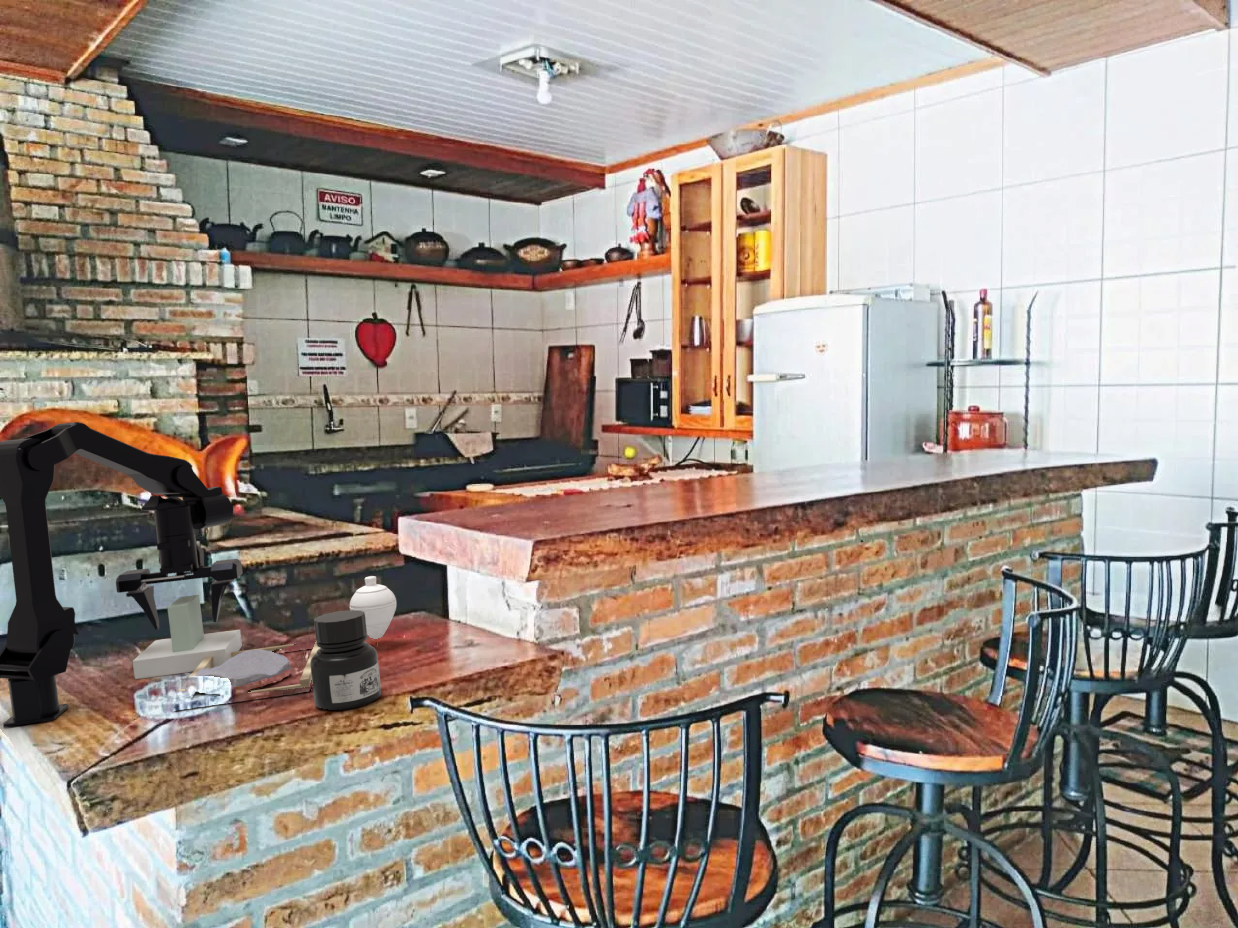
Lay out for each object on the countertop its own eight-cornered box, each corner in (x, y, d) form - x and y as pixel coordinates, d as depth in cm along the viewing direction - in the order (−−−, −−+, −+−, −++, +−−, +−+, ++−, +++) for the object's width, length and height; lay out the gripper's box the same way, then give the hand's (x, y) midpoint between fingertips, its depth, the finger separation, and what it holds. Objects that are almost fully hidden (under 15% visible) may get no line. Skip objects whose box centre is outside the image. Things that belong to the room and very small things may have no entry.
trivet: (227, 666, 154) (225, 648, 154) (134, 679, 151) (132, 661, 151) (242, 645, 168) (240, 629, 168) (157, 657, 165) (155, 640, 165)
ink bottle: (343, 716, 124) (333, 626, 123) (298, 709, 129) (289, 622, 128) (397, 693, 132) (388, 609, 131) (353, 687, 137) (344, 606, 136)
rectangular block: (192, 649, 155) (187, 605, 155) (172, 652, 155) (167, 607, 154) (204, 636, 164) (199, 594, 164) (185, 639, 163) (180, 596, 163)
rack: (310, 692, 136) (308, 678, 136) (173, 711, 132) (171, 697, 132) (326, 646, 162) (324, 635, 162) (212, 661, 158) (211, 649, 158)
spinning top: (402, 648, 157) (395, 577, 156) (355, 655, 155) (347, 583, 154) (398, 637, 164) (391, 570, 163) (353, 644, 162) (346, 576, 161)
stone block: (299, 686, 147) (252, 669, 151) (299, 657, 146) (252, 641, 150) (238, 714, 136) (189, 696, 141) (238, 683, 135) (189, 666, 140)
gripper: (242, 522, 168) (252, 608, 169) (129, 534, 164) (140, 622, 165) (231, 530, 157) (241, 622, 158) (109, 543, 153) (121, 637, 154)
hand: (186, 625), depth 159 cm, fingers open, 9 cm apart
